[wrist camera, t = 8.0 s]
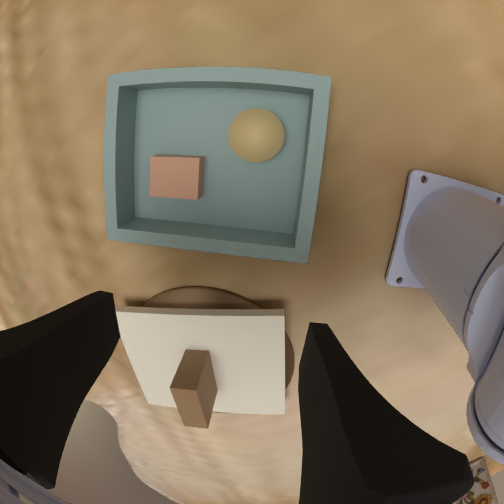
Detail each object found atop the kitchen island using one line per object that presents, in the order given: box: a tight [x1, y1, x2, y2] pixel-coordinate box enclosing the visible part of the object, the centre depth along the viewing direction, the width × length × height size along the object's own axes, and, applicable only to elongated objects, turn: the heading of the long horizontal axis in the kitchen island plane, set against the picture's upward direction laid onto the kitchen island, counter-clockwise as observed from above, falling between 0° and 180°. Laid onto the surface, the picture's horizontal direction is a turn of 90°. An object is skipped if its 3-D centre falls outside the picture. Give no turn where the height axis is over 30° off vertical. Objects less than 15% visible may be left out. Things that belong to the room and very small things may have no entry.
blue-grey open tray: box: [104, 67, 331, 264], centre depth 16 cm, size 12×10×3 cm
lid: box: [115, 306, 285, 428], centre depth 21 cm, size 13×11×6 cm
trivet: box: [142, 286, 294, 413], centre depth 24 cm, size 14×14×1 cm
